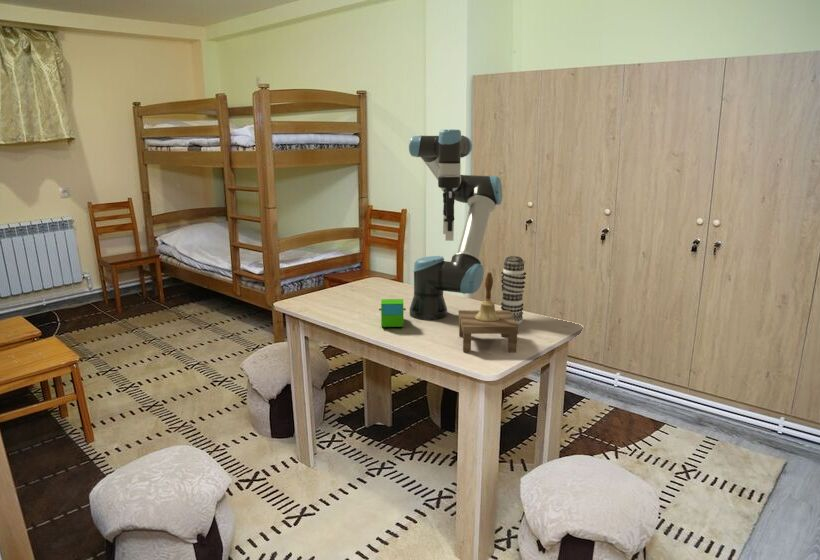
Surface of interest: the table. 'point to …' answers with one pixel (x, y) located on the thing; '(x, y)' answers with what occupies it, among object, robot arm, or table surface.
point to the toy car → (392, 313)
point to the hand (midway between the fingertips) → (448, 237)
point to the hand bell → (487, 304)
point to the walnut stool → (487, 327)
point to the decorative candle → (513, 287)
